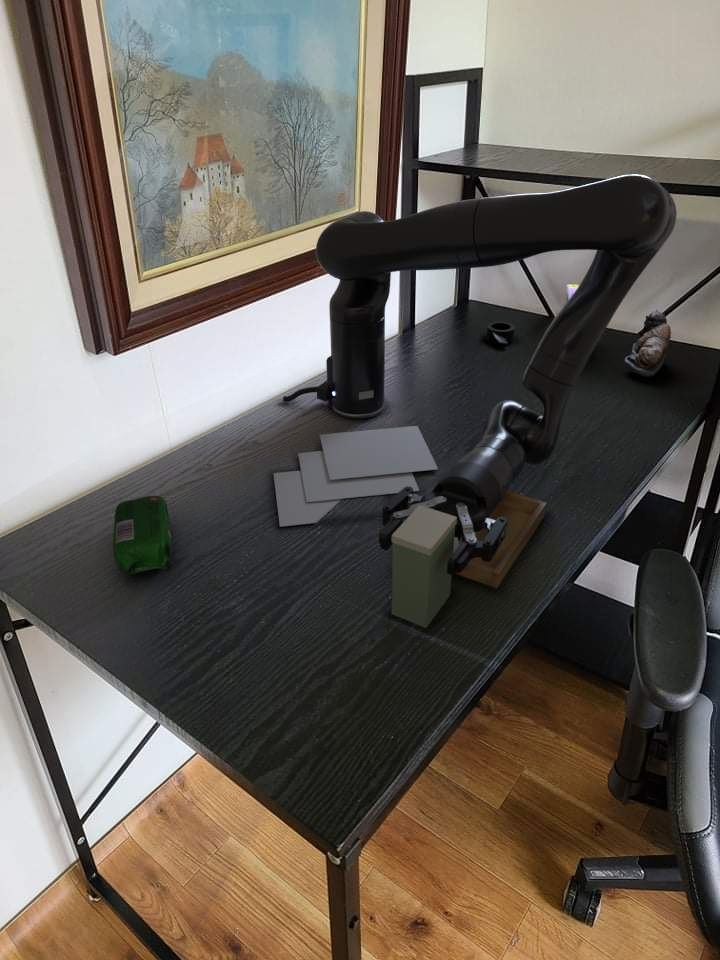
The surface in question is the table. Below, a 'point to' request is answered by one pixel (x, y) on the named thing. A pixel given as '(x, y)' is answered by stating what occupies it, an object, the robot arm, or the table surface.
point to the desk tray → (506, 538)
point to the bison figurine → (650, 346)
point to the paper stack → (351, 471)
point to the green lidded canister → (422, 565)
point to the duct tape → (500, 333)
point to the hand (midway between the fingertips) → (415, 555)
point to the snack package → (142, 535)
